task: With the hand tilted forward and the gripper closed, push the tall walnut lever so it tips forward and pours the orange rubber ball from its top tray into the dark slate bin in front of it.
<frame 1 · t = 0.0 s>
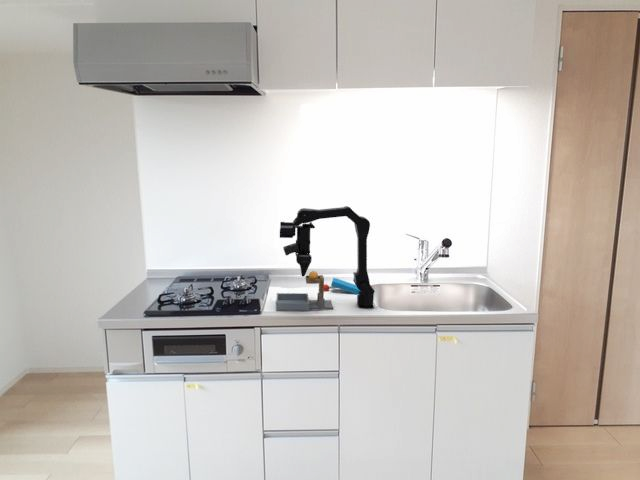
hand: (302, 273, 201), 15 cm above the worktop, tool pointing down, fingers open, 9 cm apart
lever 2: (341, 292, 227), on the worktop
lever: (314, 289, 203), point 8 cm above the worktop, hinge at 0.0°, touching ball
bin: (292, 305, 203), on the worktop
ball: (313, 275, 202), point 14 cm above the worktop, touching lever
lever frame: (320, 305, 204), on the worktop
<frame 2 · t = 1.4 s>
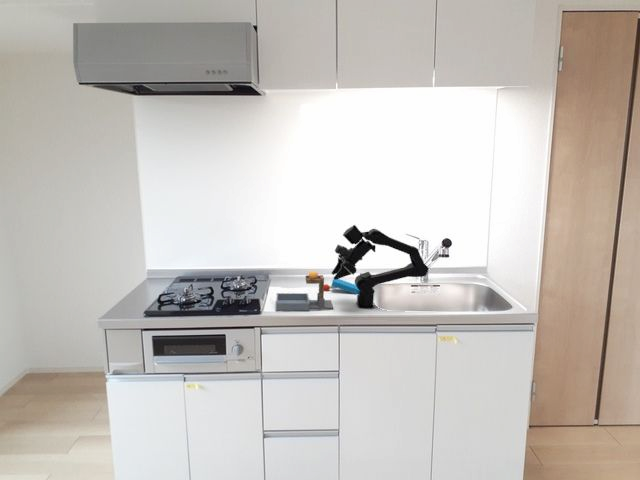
hand: (333, 276, 202), 13 cm above the worktop, tool tilted 45°, fingers open, 8 cm apart
nothing on the worktop moved.
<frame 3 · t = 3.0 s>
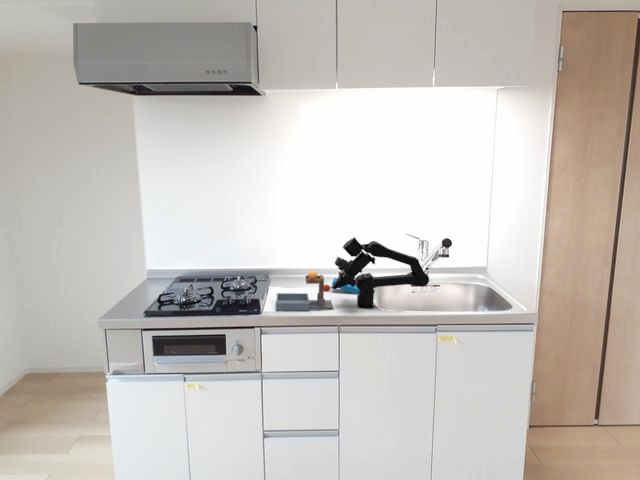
hand: (332, 288, 203), 8 cm above the worktop, tool tilted 45°, fingers closed
ball: (312, 275, 202), point 14 cm above the worktop, tilted 9°, touching lever
everything else where it was.
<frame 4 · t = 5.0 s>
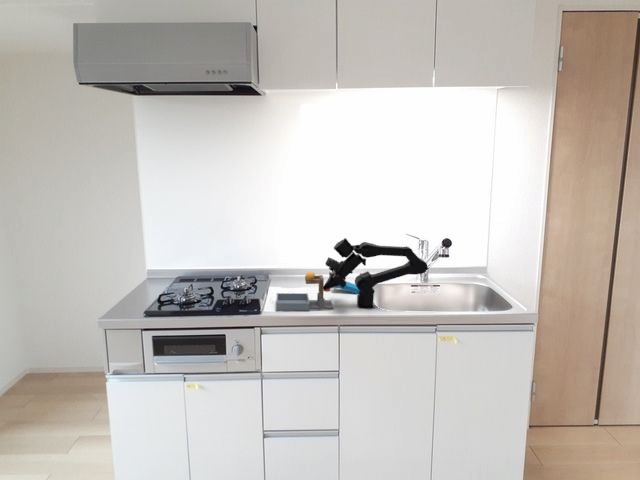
hand: (323, 289, 203), 8 cm above the worktop, tool tilted 45°, fingers closed, pressing on lever
lever: (314, 289, 203), point 8 cm above the worktop, hinge at 1.1°, touching ball, gripper
ball: (310, 275, 201), point 14 cm above the worktop, tilted 33°, touching lever
everything else where it was.
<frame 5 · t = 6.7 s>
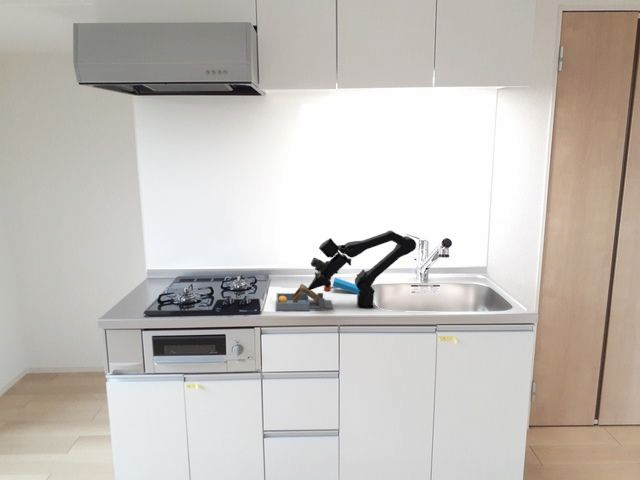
hand: (308, 289, 203), 8 cm above the worktop, tool tilted 45°, fingers closed
lever: (306, 299, 203), point 3 cm above the worktop, hinge at 53.9°
ball: (282, 300, 202), point 2 cm above the worktop, tilted 98°, touching bin
everything else where it was.
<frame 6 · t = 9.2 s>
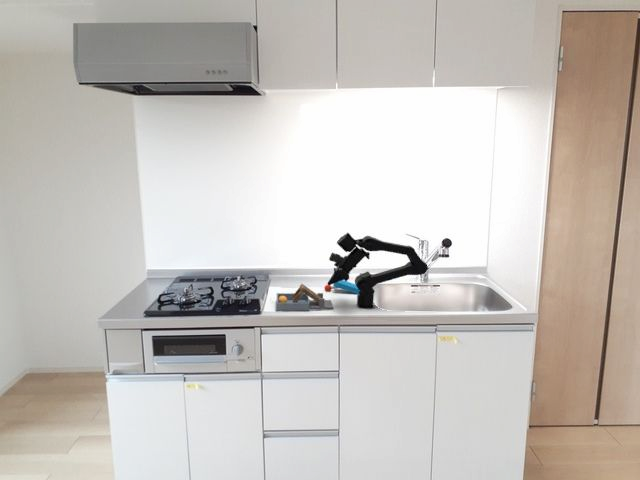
hand: (328, 284, 203), 10 cm above the worktop, tool tilted 45°, fingers closed
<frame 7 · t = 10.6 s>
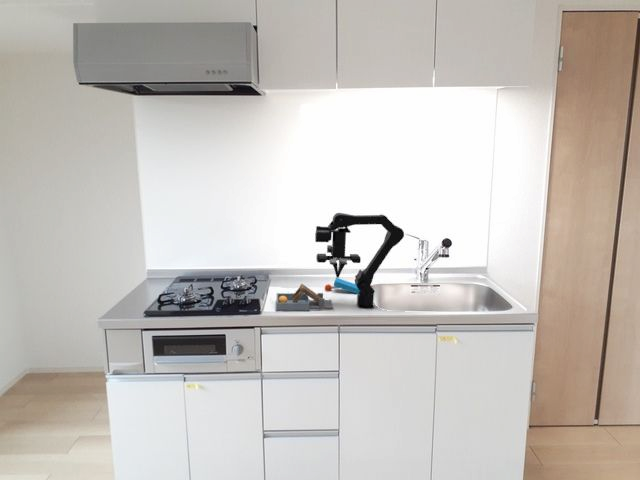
hand: (337, 277, 203), 13 cm above the worktop, tool pointing down, fingers closed
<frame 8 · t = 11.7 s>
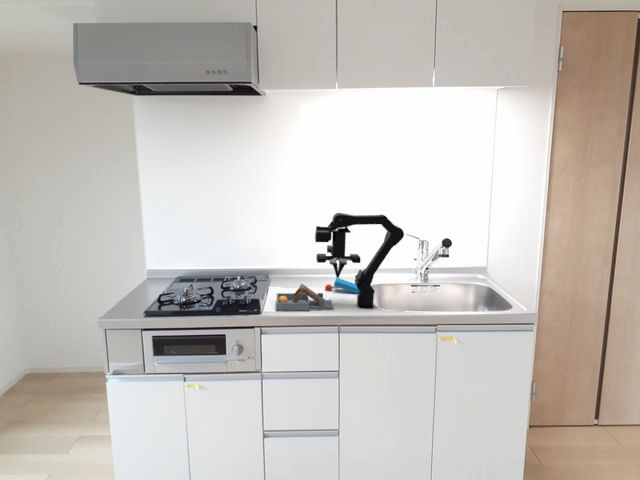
hand: (337, 277, 203), 13 cm above the worktop, tool pointing down, fingers closed
at the end: ball inside the target area on the bin (4.2 cm from its centre), point 2.5 cm above the bin's base; lever at +54° (first picture: +0°) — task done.
